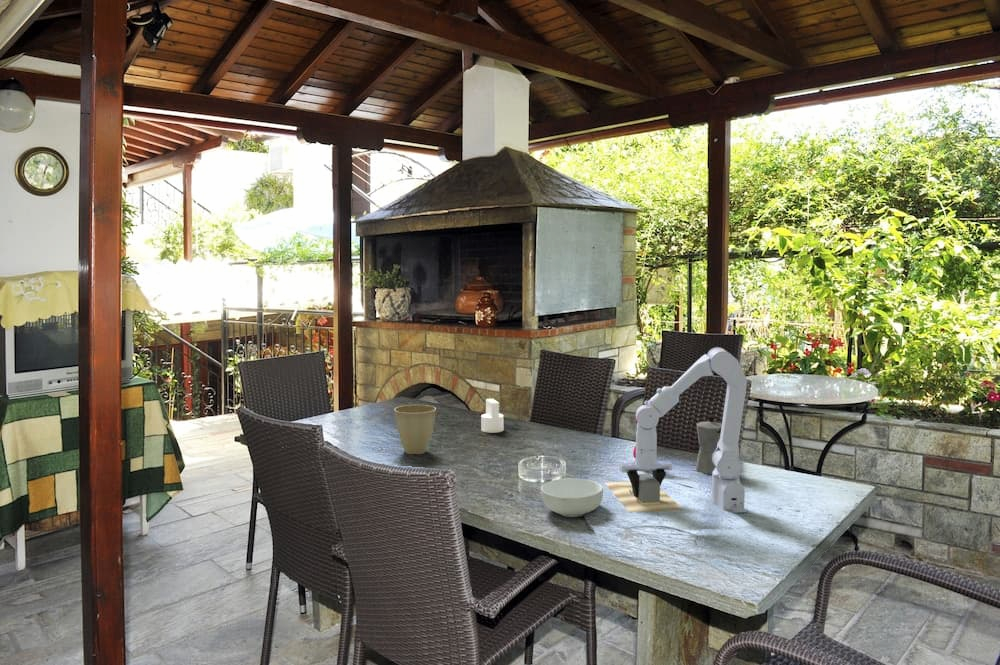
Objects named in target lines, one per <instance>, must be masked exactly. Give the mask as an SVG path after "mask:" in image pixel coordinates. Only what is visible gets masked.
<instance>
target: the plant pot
mask: <svg viewBox="0 0 1000 665" xmlns="http://www.w3.org/2000/svg"><path fill="white" fill-rule="evenodd" d="M436 410H437V408H436V407H435V406H433V405H428V404H405V405H400V406H397V407H395V408H394V412H393V413H394V418H395V422H396V423H395V424H396V427H397V432H398V435H399V439H400V442H401V444H402V448H403V451H404V452H405V454H408V455H412V454H417V455H422V454H425V453H426V452H427V449H428V447H429V443H430V440H431V438H432V435H433V434H432V433H433V429H434V426H435V420H436Z"/></svg>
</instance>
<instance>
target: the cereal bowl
mask: <svg viewBox="0 0 1000 665" xmlns="http://www.w3.org/2000/svg"><path fill="white" fill-rule="evenodd" d="M603 489H604V488H603V486H602V485H601V484H600V483H599V482H596V481H594V480H589V479H585V478H575V477H574V478H573V477H572V478H571V477H570V478H558V479H553V480H550V481H547V482H545V483H544V484H543V485H542V486H541V488H540V491H541V492H540V493H541V494H540V495H541V500H542V502H543V504H544V506H545V507H546V508H548V510H550V511H552V512H554V513H557V514H559V515H560V516H564V517H567V518H577V517H583V516H585V514H588V513H590V512H592V511H594V510H595V509H597V508H598V507H599V506H600V504H601V502H602V501H603V495H604V491H603Z"/></svg>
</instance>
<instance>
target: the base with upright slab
mask: <svg viewBox="0 0 1000 665" xmlns="http://www.w3.org/2000/svg"><path fill="white" fill-rule="evenodd" d="M504 418H505V417H504V414H502V413H500V402H499V401H497V400H496V399H494V398H486V399H485V413H484V414H481V416H480V419H481V421H480V422H481V424H480V425H481V426H480V427H481V428H480V429H481V432H483V433H490V434H491V433H493V434H494V433H496V434H497V433H501V432H503V431H504V429H505V427H504V421H505V420H504Z"/></svg>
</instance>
